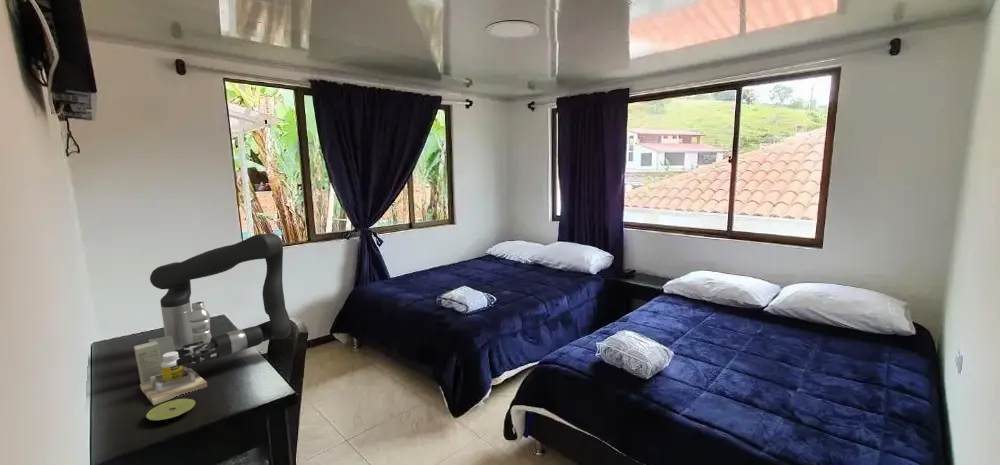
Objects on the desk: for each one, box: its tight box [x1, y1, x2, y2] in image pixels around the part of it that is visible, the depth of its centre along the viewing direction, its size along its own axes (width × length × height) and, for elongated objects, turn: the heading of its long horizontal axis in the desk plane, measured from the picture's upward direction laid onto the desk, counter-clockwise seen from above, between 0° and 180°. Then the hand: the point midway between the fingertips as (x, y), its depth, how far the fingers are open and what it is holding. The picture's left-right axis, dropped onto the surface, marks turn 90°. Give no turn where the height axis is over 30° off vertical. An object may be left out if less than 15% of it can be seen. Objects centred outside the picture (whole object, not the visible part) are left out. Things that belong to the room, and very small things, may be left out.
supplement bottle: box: [161, 350, 184, 383], centre depth 140 cm, size 5×5×10 cm
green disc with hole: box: [145, 398, 197, 421], centre depth 125 cm, size 11×11×2 cm
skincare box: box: [133, 341, 162, 384], centre depth 146 cm, size 6×4×12 cm
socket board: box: [139, 366, 208, 406], centre depth 141 cm, size 16×14×4 cm
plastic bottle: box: [189, 301, 213, 343], centre depth 165 cm, size 6×7×20 cm
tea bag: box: [148, 336, 176, 362], centre depth 158 cm, size 4×7×10 cm, turn 123°
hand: (172, 359), depth 140 cm, fingers open, 8 cm apart
